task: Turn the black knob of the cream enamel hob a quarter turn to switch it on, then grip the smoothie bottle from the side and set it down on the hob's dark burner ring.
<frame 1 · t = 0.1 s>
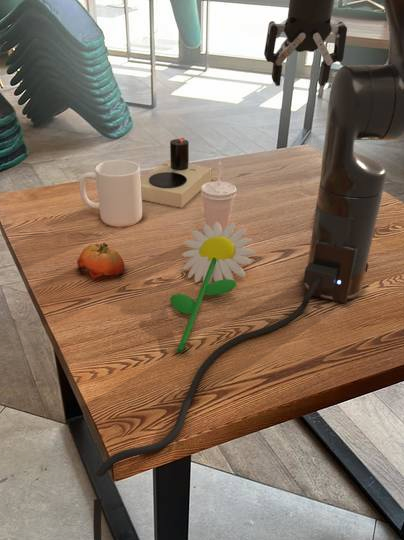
hand: (299, 84, 109), 22 cm above the table, tool pointing down, fingers open, 8 cm apart
tomato: (102, 272, 97), on the table
cup: (112, 218, 114), on the table
stove knob: (179, 154, 125), point 6 cm above the table, hinge at 0.0°
smoothie: (216, 238, 108), on the table
decorative flower: (204, 298, 92), on the table
hob: (174, 189, 125), on the table
burner ring: (167, 180, 121), resting on hob
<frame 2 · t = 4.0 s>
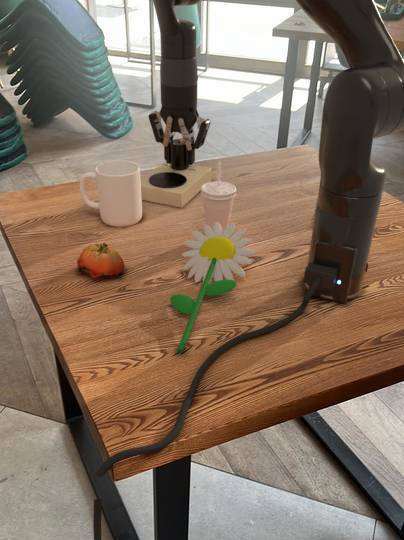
hand: (179, 163, 126), 4 cm above the table, tool pointing down, fingers closed on stove knob, 4 cm apart
stove knob: (179, 154, 125), point 6 cm above the table, hinge at 0.0°, touching gripper
everything else where it was.
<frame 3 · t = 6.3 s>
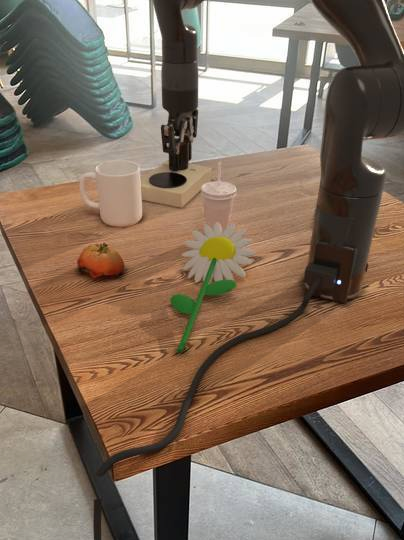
hand: (180, 164, 127), 3 cm above the table, tool pointing down, fingers open, 6 cm apart
stove knob: (179, 154, 125), point 6 cm above the table, hinge at 92.6°
everything else where it was.
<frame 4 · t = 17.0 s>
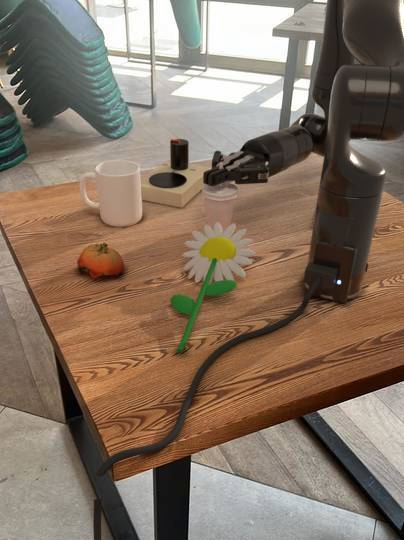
hand: (207, 179, 98), 12 cm above the table, tool horizontal, fingers closed on smoothie
smoothie: (218, 238, 108), on the table, touching gripper
everything else where it was.
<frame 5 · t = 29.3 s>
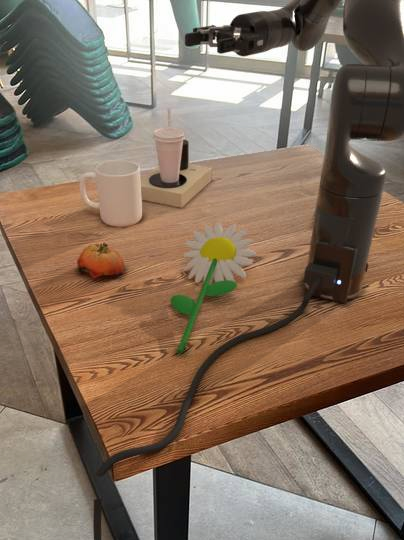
hand: (202, 43, 109), 28 cm above the table, tool horizontal, fingers open, 8 cm apart
smoothie: (169, 180, 121), point 3 cm above the table, touching burner ring
everything else where it was.
at the end: stove knob at +93° (first picture: +0°); smoothie inside the target area on the hob (0.4 cm from its centre), point 3.1 cm above the hob's base; smoothie tilted 0° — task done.
